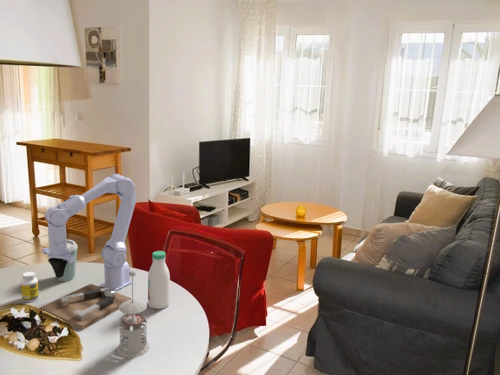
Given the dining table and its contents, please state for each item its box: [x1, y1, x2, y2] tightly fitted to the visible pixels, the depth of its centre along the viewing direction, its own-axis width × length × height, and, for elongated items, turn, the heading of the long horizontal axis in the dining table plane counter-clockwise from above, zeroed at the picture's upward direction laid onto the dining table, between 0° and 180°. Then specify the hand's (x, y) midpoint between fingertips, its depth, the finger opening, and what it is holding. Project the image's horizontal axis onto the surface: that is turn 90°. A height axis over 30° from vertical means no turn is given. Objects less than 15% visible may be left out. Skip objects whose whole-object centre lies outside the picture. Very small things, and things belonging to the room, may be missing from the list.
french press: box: [116, 270, 151, 359], centre depth 125 cm, size 10×12×25 cm
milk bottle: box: [147, 250, 171, 310], centre depth 151 cm, size 8×8×20 cm
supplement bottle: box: [20, 271, 39, 303], centre depth 152 cm, size 5×5×10 cm
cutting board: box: [39, 283, 132, 331], centre depth 149 cm, size 22×21×2 cm
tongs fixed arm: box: [74, 297, 113, 320], centre depth 144 cm, size 14×4×2 cm, turn 152°
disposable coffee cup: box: [56, 238, 79, 282], centre depth 168 cm, size 11×11×15 cm
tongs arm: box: [60, 287, 117, 307], centre depth 150 cm, size 18×6×2 cm, turn 122°
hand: (59, 276), depth 150 cm, fingers closed
